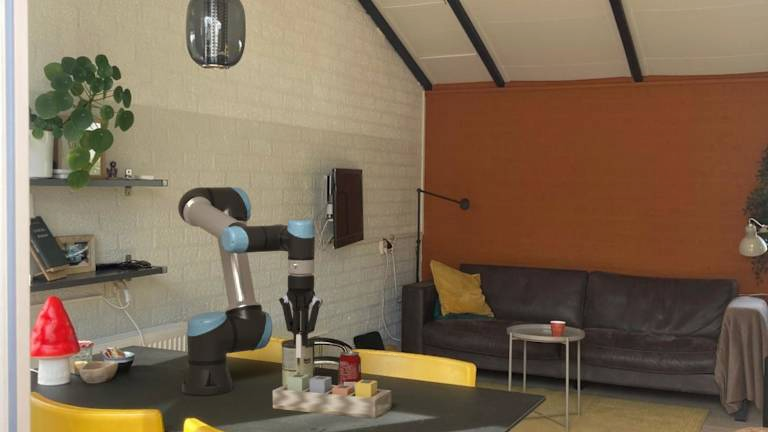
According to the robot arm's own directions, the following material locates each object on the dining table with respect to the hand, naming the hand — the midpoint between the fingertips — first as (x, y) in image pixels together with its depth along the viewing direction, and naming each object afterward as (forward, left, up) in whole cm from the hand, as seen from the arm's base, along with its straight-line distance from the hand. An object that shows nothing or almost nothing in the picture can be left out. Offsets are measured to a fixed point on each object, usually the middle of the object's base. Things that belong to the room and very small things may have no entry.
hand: (300, 356), depth 241 cm
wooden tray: (+10, 0, -14) cm, 17 cm away
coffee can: (-11, +20, -14) cm, 26 cm away
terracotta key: (+14, 0, -13) cm, 18 cm away
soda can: (+7, +19, -14) cm, 24 cm away
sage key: (0, 0, -11) cm, 11 cm away
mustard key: (+21, 0, -11) cm, 23 cm away
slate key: (+7, 0, -11) cm, 12 cm away
